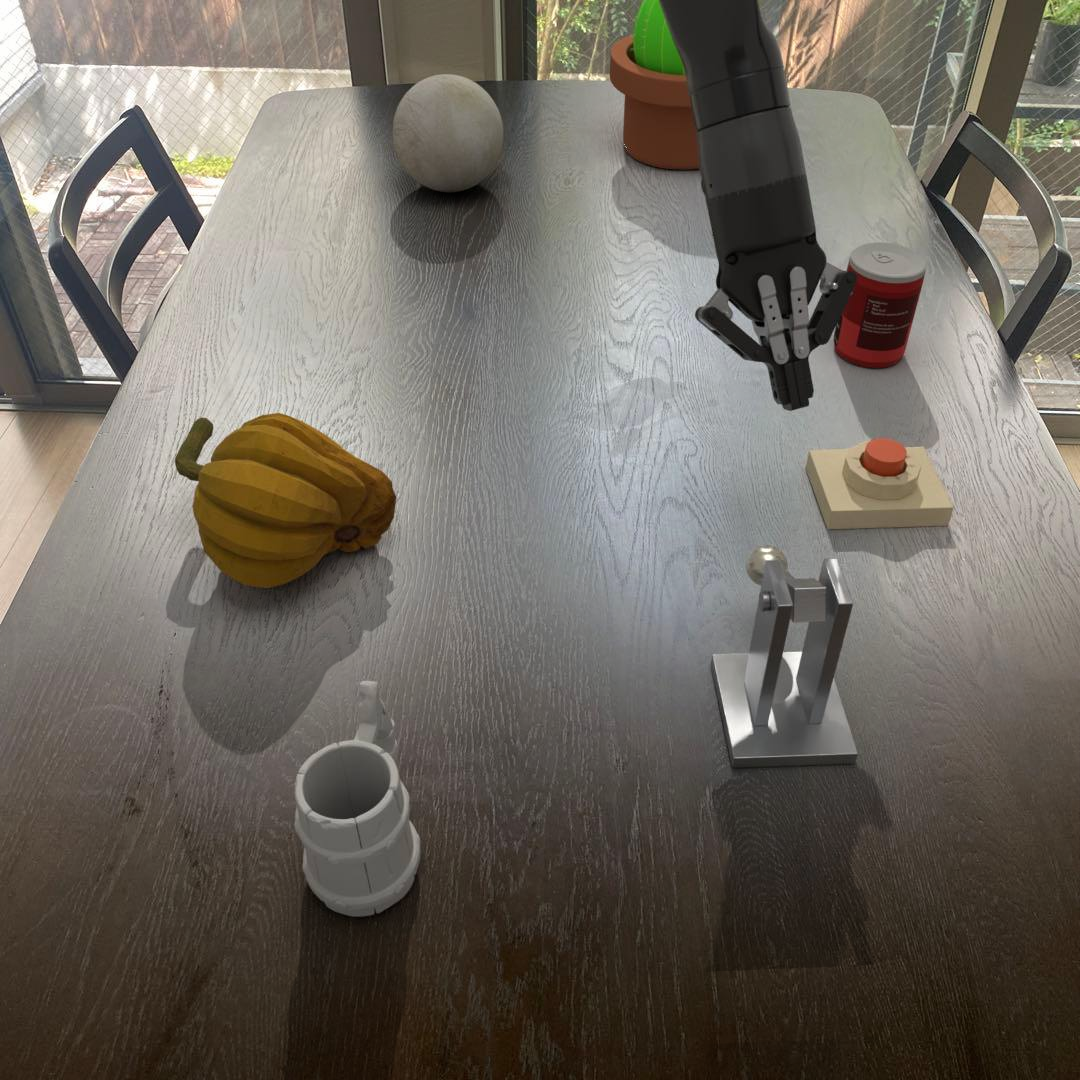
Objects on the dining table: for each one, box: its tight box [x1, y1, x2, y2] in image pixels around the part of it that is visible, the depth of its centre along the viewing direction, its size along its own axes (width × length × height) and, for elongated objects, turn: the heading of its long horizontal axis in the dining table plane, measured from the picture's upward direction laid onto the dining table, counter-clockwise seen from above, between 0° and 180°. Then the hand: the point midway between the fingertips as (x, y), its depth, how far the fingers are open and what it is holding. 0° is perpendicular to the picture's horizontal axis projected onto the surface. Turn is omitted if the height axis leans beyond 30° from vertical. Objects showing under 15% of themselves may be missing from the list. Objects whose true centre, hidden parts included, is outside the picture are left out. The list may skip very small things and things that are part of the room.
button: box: [862, 437, 907, 477], centre depth 98 cm, size 4×4×2 cm
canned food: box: [833, 241, 927, 369], centre depth 116 cm, size 8×8×11 cm
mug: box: [293, 680, 421, 918], centre depth 70 cm, size 8×12×12 cm, turn 172°
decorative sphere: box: [392, 73, 505, 193], centre depth 147 cm, size 15×15×15 cm
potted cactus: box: [609, 0, 700, 171], centre depth 153 cm, size 22×22×25 cm
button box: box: [805, 440, 955, 530], centre depth 99 cm, size 11×9×4 cm
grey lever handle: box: [745, 545, 826, 624], centre depth 79 cm, size 14×3×3 cm
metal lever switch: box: [710, 557, 859, 769], centre depth 77 cm, size 10×9×14 cm
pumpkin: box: [174, 412, 397, 589], centre depth 91 cm, size 14×16×20 cm
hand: (796, 407), depth 85 cm, fingers closed
